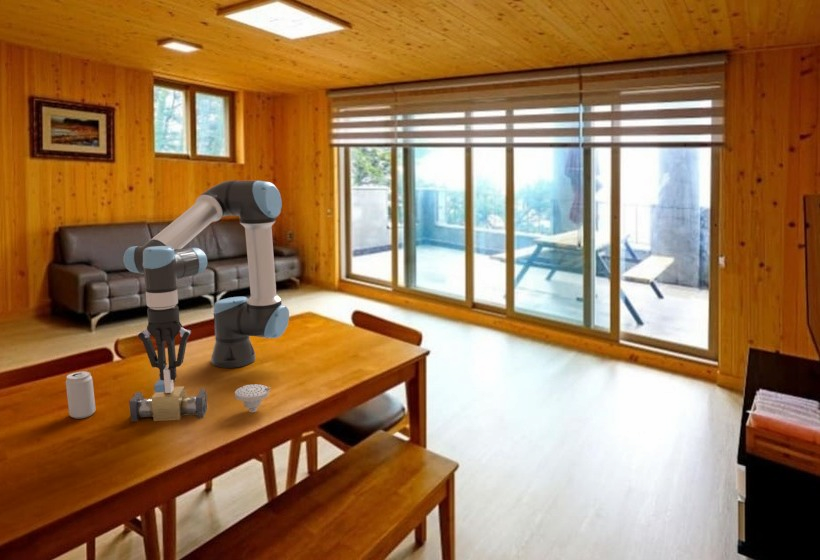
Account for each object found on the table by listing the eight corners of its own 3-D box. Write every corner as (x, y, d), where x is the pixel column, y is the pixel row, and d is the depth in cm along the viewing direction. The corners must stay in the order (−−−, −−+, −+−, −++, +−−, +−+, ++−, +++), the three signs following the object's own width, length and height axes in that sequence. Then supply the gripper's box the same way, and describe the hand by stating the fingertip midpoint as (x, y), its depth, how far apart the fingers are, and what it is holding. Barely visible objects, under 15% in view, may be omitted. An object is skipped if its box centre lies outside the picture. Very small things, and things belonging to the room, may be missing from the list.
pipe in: (180, 418, 154) (179, 398, 153) (185, 409, 160) (184, 390, 158) (203, 417, 155) (201, 397, 154) (207, 408, 161) (206, 389, 159)
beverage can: (89, 407, 160) (84, 368, 157) (100, 413, 156) (96, 373, 154) (65, 415, 155) (60, 375, 152) (76, 421, 151) (71, 380, 149)
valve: (153, 421, 152) (150, 388, 150) (160, 410, 159) (158, 378, 157) (180, 419, 153) (177, 387, 151) (186, 408, 160) (183, 377, 158)
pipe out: (131, 421, 152) (129, 401, 150) (138, 412, 158) (136, 392, 156) (154, 420, 153) (152, 400, 151) (160, 411, 158) (158, 391, 157)
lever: (162, 379, 156) (161, 371, 155) (176, 378, 156) (176, 370, 156) (151, 393, 146) (151, 384, 146) (167, 392, 147) (167, 384, 146)
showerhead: (267, 393, 154) (231, 394, 153) (268, 417, 155) (232, 418, 154) (273, 380, 163) (238, 381, 162) (274, 403, 164) (239, 404, 164)
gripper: (192, 302, 148) (198, 384, 153) (141, 302, 146) (148, 386, 151) (184, 309, 141) (191, 395, 145) (131, 310, 139) (139, 397, 144)
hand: (169, 390), depth 148 cm, fingers closed
